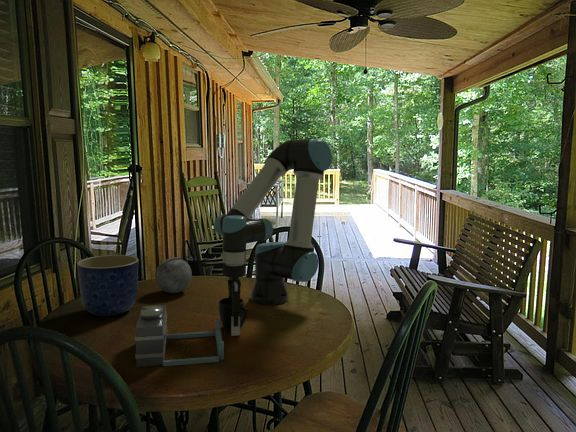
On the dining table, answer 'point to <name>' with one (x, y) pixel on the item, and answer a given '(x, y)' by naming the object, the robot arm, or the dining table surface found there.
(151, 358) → the grey stepped block
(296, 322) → the dining table surface
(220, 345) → the clip bracket
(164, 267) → the decorative orb
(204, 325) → the dining table surface
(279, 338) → the dining table surface
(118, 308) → the planter
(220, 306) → the mug
